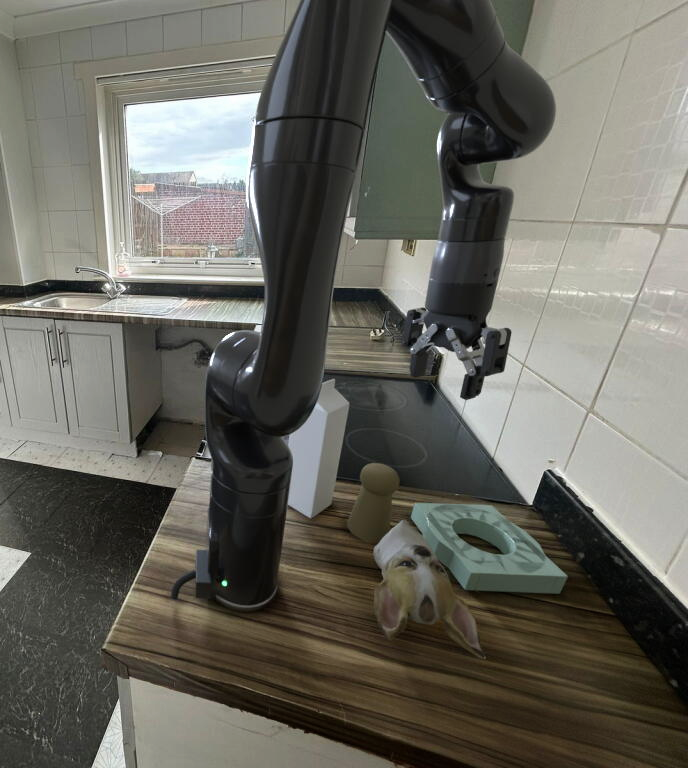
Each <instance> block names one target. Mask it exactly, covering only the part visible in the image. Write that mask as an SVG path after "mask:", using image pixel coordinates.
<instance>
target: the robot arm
mask: <svg viewBox="0 0 688 768" xmlns="http://www.w3.org/2000/svg"><path fill="white" fill-rule="evenodd" d="M386 34H387V36H388V37H389V38H390V39H391V41H392V42H393V43H394V45H395V46H396V47H397V49H398V51H399V52H400V54H401V55H402V57H403V58H404V60H405V62H406V64H407V65H408V67H409V68H410V70H411V72H412V74H413V76H414V78H415V79H416V81H417V83H418V84H419V87H420V88H421V90H422V91H423V93H424V95H425V97H426V98H427V100H428V101H429V103H430V105H431V106H432V107H433V109H435V110H436V111H438V112H439V113H442V114H447V115H446V116H445V118H444V120H443V121H442V123H441V125H440V128H439V131H438V134H437V139H436V157H437V158H436V159H437V165H438V172H439V181H440V189H441V197H442V213H441V219H440V224H439V231H438V238H437V242H436V246H435V249H434V251H433V255H432V260H431V265H430V271H429V278H428V282H427V283H428V284H427V290H426V296H425V301H424V307H418V308H412V309H408V310H407V312H406V317H405V322H404V327H403V332H402V337H401V346H402V347H403V348H406V347H407V349H408V350H409V352H410V354H411V357H410V362H409V373H410V374H409V376H411V377H412V378H414V379H417V378H421V377H423V376H425V375H426V372H427V366H428V360H429V352H428V351H430V349H432V348H434V347H437V348H444V349H445V350H446V351H449V352H452V353H455V355H456V357H457V359H458V360H459V361H460V362H461V363H462V365H463V366H464V369H465V371H466V373H465V374H464V376H463V379H462V380H463V381H462V385H461V390H460V393H459V398H461V399H463V400H464V401H469V400H472V399H475V398H476V397H478V396H479V395H481V394H482V391H483V390H482V389H483V386H484V381H485V379H486V378H485V377H490V376H493V375H497V374H502V373H504V372H505V369H506V363H507V359H508V354H509V349H510V343H511V338H512V329H511V328H509V327H503V328H496V327H490V326H488V324H487V317H488V315H489V313H490V312H491V311H492V308H493V305H494V300H495V297H496V292H497V288H498V282H499V278H500V274H501V269H502V266H503V261H504V255H505V243H506V237H507V233H508V228H509V224H510V221H511V215H512V211H513V206H514V203H515V191H514V190H513V188H512V187H509V186H506V185H501V184H494V183H489V182H486V181H484V179H483V177H482V174H481V171H480V165H485V164H493V163H501V162H510V161H515V160H519V159H522V158H525V157H527V156H529V155H531V154H532V153H533V152H535V151H536V150H538V149H539V148H540V147H541V146H542V145H543V144H544V142H545V141H546V140H547V139H548V137H549V135H550V133H551V132H552V129H553V127H554V125H555V122H556V117H557V116H556V115H557V104H556V98H555V95H554V92H553V89H552V88H551V86H550V85H549V83H548V82H547V81H546V79H545V78H544V76H542V75H541V74H540V73H539V72H538V71H537V70H536V69H535V68H534V67H532V65H530V64H529V63H528V62H527V61H526V60H525V59H524V58H523V57H522V56H521V55H520V54H519V53H517V51H515V50H514V49H513V48H511V47H510V46H509V45H508V42H507V39H506V36H505V34H504V31H503V29H502V26H501V23H500V21H499V18H498V15H497V13H496V10H495V8H494V5H493V3H492V1H491V0H299V2H298V4H297V7H296V9H295V11H294V13H293V16H292V18H291V20H290V22H289V24H288V27H287V28H286V30H285V33H284V36H283V38H282V40H281V42H280V44H279V46H278V49H277V52H276V54H275V56H274V58H273V61H272V63H271V66H270V68H269V71H268V72H267V74H266V75H267V76H266V78H265V81H264V84H263V86H262V89H261V91H260V95H259V99H258V102H257V104H256V109H255V115H254V119H253V126H252V134H251V143H250V150H249V157H248V165H247V174H246V185H245V186H246V187H245V188H246V189H245V191H246V192H245V194H246V195H245V197H246V205H247V212H248V216H249V222H250V225H251V229H252V233H253V238H254V241H255V244H256V248H257V249H256V250H257V253H258V256H259V261H260V266H261V270H262V277H263V283H264V301H263V313H262V320H261V328H260V331H256V330H252V329H242V330H237V331H234V332H231V333H229V334H228V335H226V336H225V337H224V338H222V340H221V341H219V343H218V344H217V345H216V346H215V348H214V350H213V351H212V353H211V355H210V357H209V361H208V363H207V368H206V371H205V372H206V373H205V381H204V382H205V383H204V384H205V385H204V427H205V428H204V432H205V442H206V446H207V447H206V448H207V449H208V452H209V455H210V482H209V501H208V503H209V504H208V507H207V513H206V515H207V516H206V533H205V534H206V535H205V536H206V537H205V549H196V550H195V564H194V565H195V569H192V570H190V571H188V572H187V573H184V574H183V575H181V576H180V577H178V578H177V579H176V581H174V584H172V585H173V586H172V587H171V593H170V598H171V600H175V601H177V600H178V598H179V595H180V594H179V593H180V589H181V588H182V587H183V586H184V585H185V584H186V583H188V582H190V581H192V580H194V579H195V599H205V600H206V599H207V600H212V601H216V602H217V603H219V604H220V605H222V606H223V607H225V608H228V609H230V610H233V611H235V612H241V613H252V612H253V613H254V612H257V611H260V610H263V609H265V608H266V607H269V605H271V603H272V602H273V601H274V600H275V598H276V597H277V594H278V593H277V592H278V587H279V586H278V585H279V571H280V565H281V557H282V549H283V542H284V537H285V536H284V534H285V528H286V519H287V512H288V506H289V505H288V499H289V491H290V484H291V476H292V469H293V457H292V453H291V450H290V449H289V447H288V444H287V442H286V441H285V439H284V437H288V436H289V435H290V434H292V433H293V432H295V431H297V430H298V429H299V428H300V427H301V426H302V425H303V424H304V423H305V422H306V421H307V419H308V418H309V417H310V415H311V413H312V411H313V409H314V408H315V405H316V403H317V400H318V397H319V394H320V391H321V387H322V383H324V382H323V381H324V375H325V369H326V368H325V367H326V359H327V350H328V341H329V330H330V321H331V313H332V303H333V295H334V289H335V283H336V277H337V276H336V275H337V272H338V271H337V270H338V266H339V260H340V254H341V249H342V242H343V238H344V233H345V226H346V223H347V218H348V213H349V208H350V203H351V199H352V196H353V192H354V187H355V183H356V179H357V174H358V170H359V166H360V161H361V157H362V151H363V148H364V147H363V146H364V141H365V138H366V137H365V136H366V131H367V126H368V120H369V113H370V107H371V102H372V97H373V91H374V87H375V82H376V77H377V72H378V68H379V64H380V58H381V55H382V50H383V47H384V46H383V45H384V42H385V38H386ZM424 326H425V328H426V330H425V331H424ZM423 331H424V332H423ZM481 338H483V340H482V339H481ZM470 347H471V349H472V351H469V350H468V349H469V348H470Z"/></svg>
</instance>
